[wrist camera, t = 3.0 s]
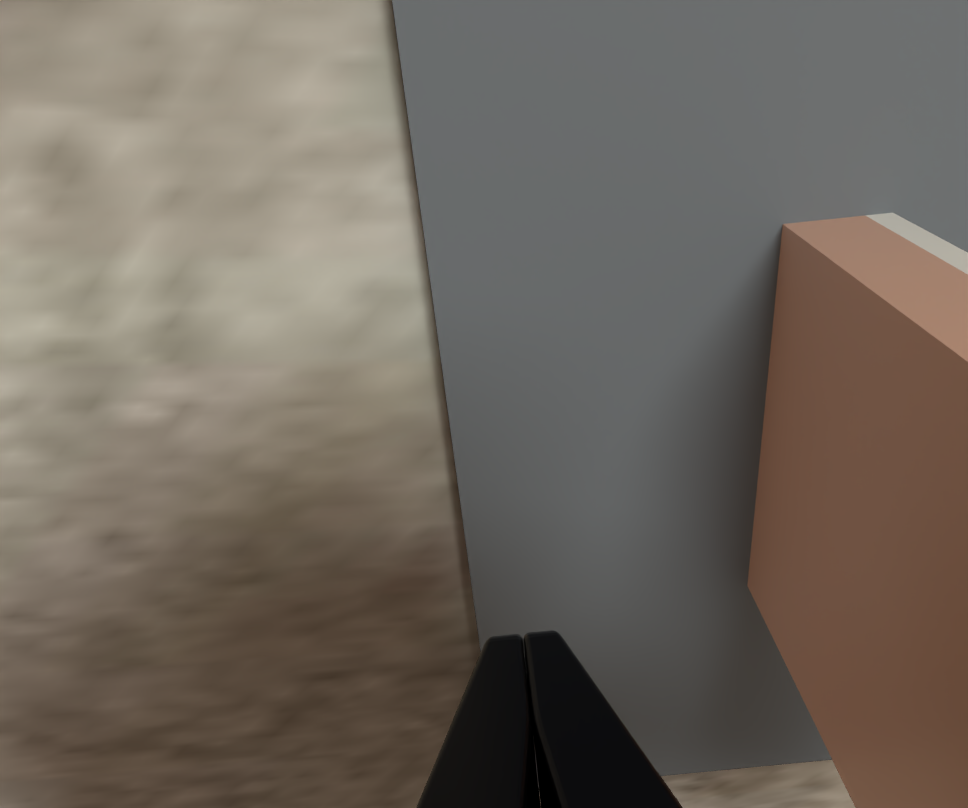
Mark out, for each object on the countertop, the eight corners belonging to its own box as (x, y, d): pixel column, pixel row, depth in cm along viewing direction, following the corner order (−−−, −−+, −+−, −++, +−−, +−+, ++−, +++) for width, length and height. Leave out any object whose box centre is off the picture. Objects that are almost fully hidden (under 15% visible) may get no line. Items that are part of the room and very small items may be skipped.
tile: (831, 577, 15) (1107, 1011, 8) (747, 585, 15) (962, 1025, 8) (892, 212, 11) (1432, 500, 5) (782, 223, 11) (1185, 523, 5)
